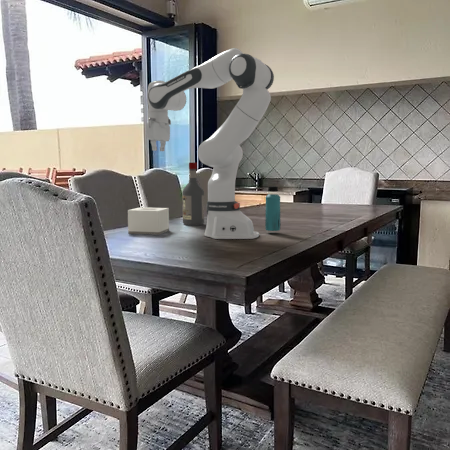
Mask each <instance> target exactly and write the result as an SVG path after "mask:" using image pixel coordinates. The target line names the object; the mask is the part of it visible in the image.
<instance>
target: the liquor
mask: <svg viewBox="0 0 450 450" xmlns="http://www.w3.org/2000/svg"><path fill="white" fill-rule="evenodd" d="M197 167H198V165H197V162H188V170H189V172H188V173H189V175H188V176H189V180H188V183H187V184H186V186H184V188H183V189H182V191H181V192H182V193H181V194H182V198H181V199H182V223H183V225H185V226H192V227H193V226H195V227H196V226H203V225H204V223H205V191H204V189H203V188H202V186H201V185H200V184H199V182H198V180H197Z"/></svg>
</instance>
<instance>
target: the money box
mask: <svg viewBox="0 0 450 450" xmlns="http://www.w3.org/2000/svg"><path fill="white" fill-rule="evenodd" d="M169 211H170V209H169V207H136V208H132V209H127V230H128V234H129V235H130V234H133V235H134V234H135V235H155V236H156V235H158V236H160V235H162V234H164V233H166V232H169V231H170V214H169Z"/></svg>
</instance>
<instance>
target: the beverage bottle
mask: <svg viewBox="0 0 450 450" xmlns="http://www.w3.org/2000/svg"><path fill="white" fill-rule="evenodd" d="M267 191H268V192H271V194H270V193H269V194H267V195H266V196H265V213H264V214H265V225H264V227H265V231H268V232H277V231H280V230H281V228H282V227H281V224H282V223H281V216H282V215H281V196H280V195H279V194H277V193H276V194H275V193H274V194H273V193H272V192H279V190H278V186H275V185H271V186H268V187H267Z"/></svg>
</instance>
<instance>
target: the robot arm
mask: <svg viewBox="0 0 450 450" xmlns="http://www.w3.org/2000/svg"><path fill="white" fill-rule="evenodd" d="M232 80H233V81H234V82H235V84H236V86H237V87H238V89H242V95H241V96H240V98H239V100H238V101H237V103H236V104H235V105H234V107H233V109H232V110H231V112H230V114H229V115H228V116H227V118H226V119H225V121H224V122H223V123H222V124H221V125H220V127H218V128H217V129H216V131H214V133H212V135H210V137H209V138H207V139H206V140H204V141H202V142H201V143H200V145H199V146H198V148H197V157H198V159H199V161H200V162H201V163H202V164H203V165H206V166H208V167H210V168H213V169H212V172H211V175H210V178H209V179H208V181H207V201H206V216H207V219H206V226H205V231H204V235H203V236H205V237H208V238H212V239H214V240H215V239H216V240H217V239H218V240H232V239H233V240H236V239H237V240H238V239H239V240H243V239H244V240H249V239H250V240H252V239H256V238H258V237H259V236H260V232H259V231H255V229H254V224H253V223H254V222H253V221H252V219H250V217H248V216H247V215H246V214H245V213H243V212H242V211H241V210H240V209H241V208H240V207H241V203H240V202H237V201H236V181H237V180H236V178H237V174H238V169H239V165H240V162H241V161H242V159H243V156H244V152H243V148H242V147H241V144H242V143H243V142H245V141H246V140H247V139H248V138H249V137H251V135H252V133H253V132H254V130H255V129H256V127H257V126H258V125H259V123H260V121H261V120H262V119H263V117H264V115H265V113H266V112H267V109H268V107H269V106H270V103H271V101H272V96H271V93H270V92H269V89H271V87H272V85H273V83H274V81H275V75H274V72H273V70H272V68H271V67H270V66H269V65H267V64H265V63H264V62H263V61H262V60H261V59H259V58H257V57H255V56H253V55H251V54H248V53H244V52H243V51H241V50H240V49H239V48H236V47H233V48H230V49H229V48H228V49H227V50H225V51H222V52H220V53H217V55H215V56H213V57H211V58H209V59H208V60H207V61H204V62H203V63H202V64H200V65H198V66H195V67H193V68H191V69H189V70H186V71H185V72H182V73H180V74H179V75H176V76H175V77H173V78H171V79H169V80H167V81H165V80H154V81H151V82H150V83H149V84H148V87H147V95H146V98H147V99H146V101H147V105H148V106H147V107H148V109H147V123H146V125H145V128H146V129H145V137H146V139H147V140H149V141H150V144H151V151H158V146H157V141H158V142H160V143H159V144H160V147H159V151H160V152H165V149H166V145H167V143H166V142H170V138H171V124H172V121H171V119H170V117H169V113H168V112H169V111H173V112H176V111H181V110H183V109H184V107H185V106H186V104H187V95H186V93H185V91H187V90H190V89H200V88H201V89H209V90H210V89H216V88H220V87H222V86H223V85H225V84H227V83H229V82H230V81H232Z"/></svg>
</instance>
